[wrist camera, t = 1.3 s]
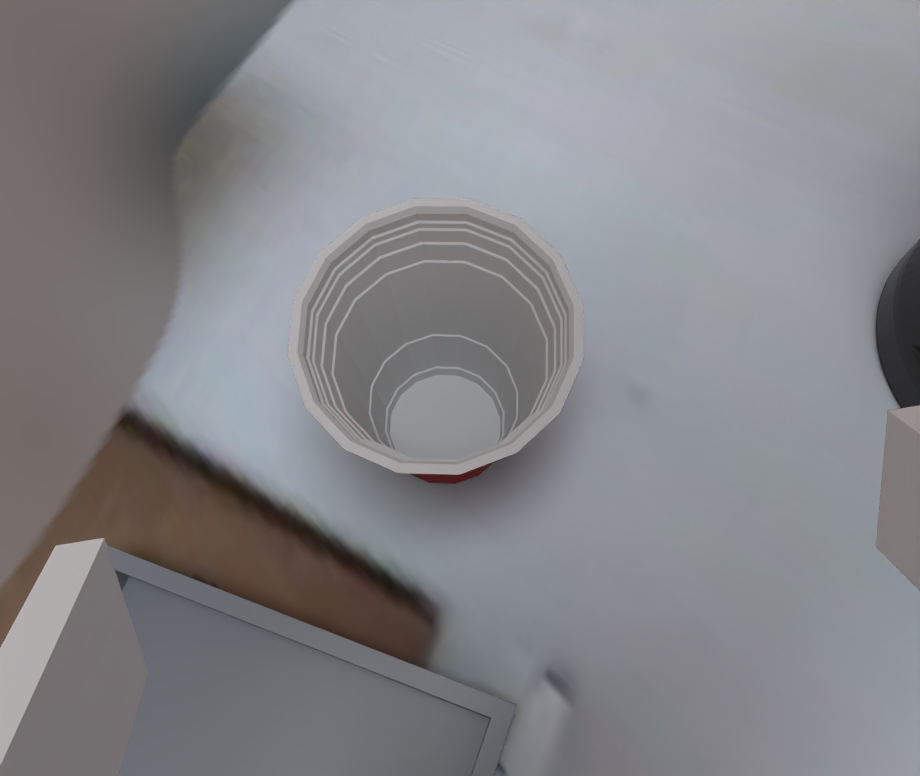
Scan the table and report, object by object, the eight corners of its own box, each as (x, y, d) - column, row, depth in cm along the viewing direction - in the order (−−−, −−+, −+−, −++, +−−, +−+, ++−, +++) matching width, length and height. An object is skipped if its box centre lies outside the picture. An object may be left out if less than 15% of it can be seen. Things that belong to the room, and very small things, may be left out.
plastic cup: (284, 454, 42) (220, 355, 31) (419, 291, 46) (405, 147, 34) (468, 589, 40) (470, 534, 29) (597, 407, 43) (644, 293, 32)
